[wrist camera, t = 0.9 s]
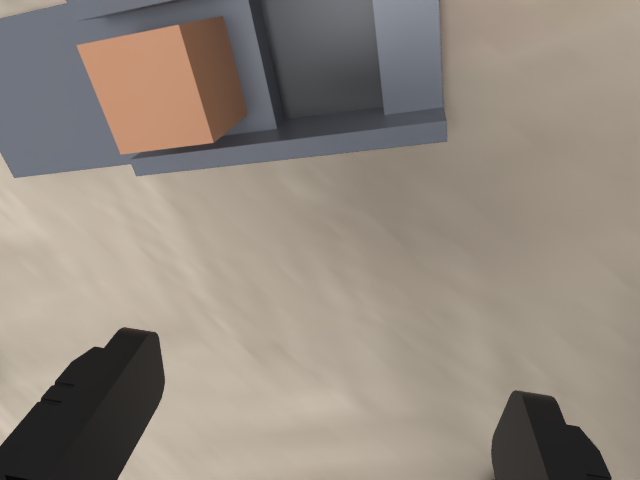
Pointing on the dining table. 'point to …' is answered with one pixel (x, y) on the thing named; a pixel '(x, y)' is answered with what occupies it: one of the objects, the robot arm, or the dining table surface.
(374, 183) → the dining table surface
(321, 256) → the dining table surface
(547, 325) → the dining table surface
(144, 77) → the block
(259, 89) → the channel
